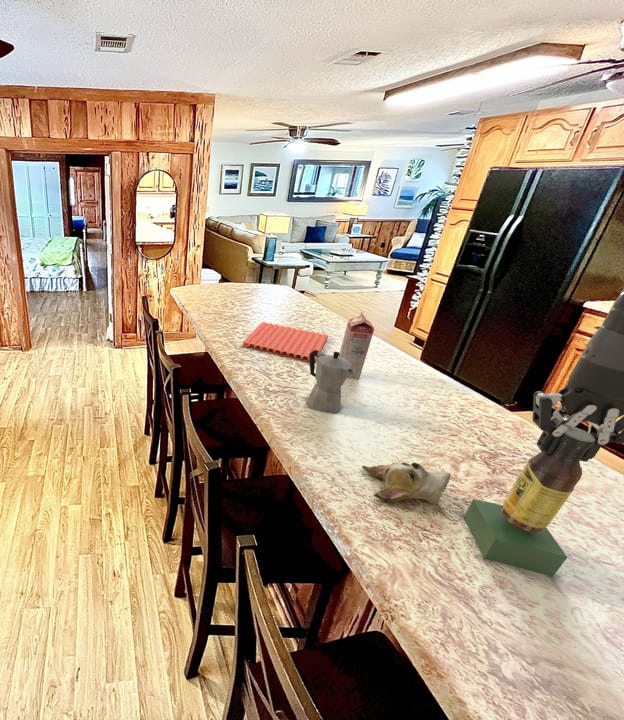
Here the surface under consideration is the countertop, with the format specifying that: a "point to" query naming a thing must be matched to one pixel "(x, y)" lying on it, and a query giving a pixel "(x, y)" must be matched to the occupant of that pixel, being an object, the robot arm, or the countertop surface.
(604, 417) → the robot arm
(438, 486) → the ceramic sculpture
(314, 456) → the countertop surface
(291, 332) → the red corrugated roof tile
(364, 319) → the juice carton
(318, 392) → the coffeepot
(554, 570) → the green block
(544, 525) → the sauce bottle
